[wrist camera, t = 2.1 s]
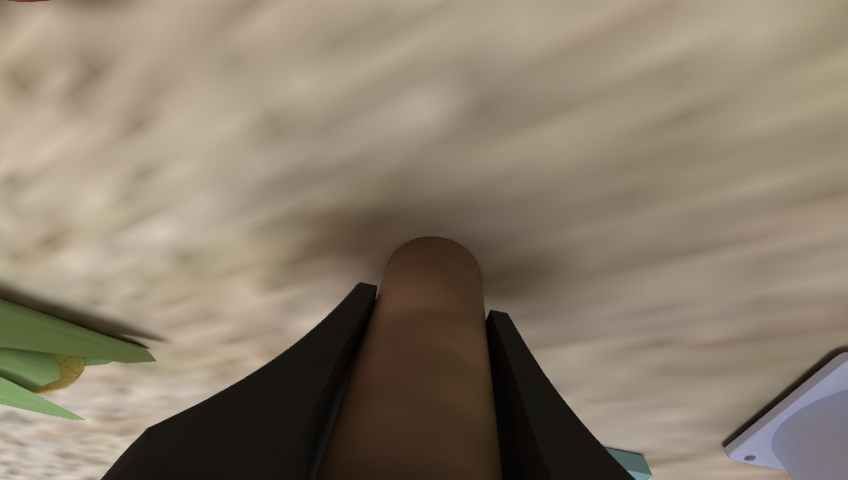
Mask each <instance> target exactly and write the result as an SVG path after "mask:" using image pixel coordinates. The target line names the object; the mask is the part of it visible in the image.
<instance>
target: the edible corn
mask: <svg viewBox="0 0 848 480" xmlns="http://www.w3.org/2000/svg"><path fill="white" fill-rule="evenodd" d="M142 348H147V347H143V346H140V345H137V344H134V343H131V342H128V341H124V340H121V339H118V338H115V337H112V336H109V335H105V334H102V333H99V332H96V331H93V330H90V329H86V328H83V327H80V326H77V325H75V324H72V323H69V322H66V321H64V320H61V319H58V318H56V317H53V316H50V315H47V314H45V313H42V312H39V311H36V310H33V309H30V308H27V307H24V306H21V305H18V304H15V303H12V302H9V301H6V300H3V299H0V404H2V405H7V406H12V407H16V408H21V409H26V410H30V411H35V412H39V413H44V414H49V415H53V416H58V417H62V418H67V419H72V420H85V419H83V418H81V417H79V416H77V415H76V414H74V413H72V412H70V411H68V410H66V409H64V408H62V407H60V406H58V405H56V404H54V403H52V402H50V401H48V400H46V399H44V398H42V397H40V396H38V395H36V394H44V393H49V392H52V391H56V390H59V389H63V388H66V387H68V386H69V385H71V384H72V383H74V382H75V381H76V380H77V379H78V378H79V376H80V375H81V374H82V372H83V371H84V366H88V365H101V364H108V363H110V362H113V361H116V362H123V363H138V362H153V361H156V360H155V359H154V358H153V356H152V355H151V354H150V353H149V352H148V351H147V350H145V349H142ZM149 349H150V348H149Z"/></svg>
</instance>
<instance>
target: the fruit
mask: <svg viewBox="0 0 848 480" xmlns="http://www.w3.org/2000/svg"><path fill="white" fill-rule="evenodd" d="M9 1H16V2H36V1H48V0H9Z"/></svg>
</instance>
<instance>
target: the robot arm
mask: <svg viewBox="0 0 848 480" xmlns="http://www.w3.org/2000/svg"><path fill="white" fill-rule="evenodd" d="M376 292H377V286H375V285H371V284H366V283H361V282H360V283H358V284H357V285H356V286H355V287H354V289H353V290H352V291H351V292H350V293H349V294H348V295H347V297H346V298H345V299H344V300H343V301H342V302H341V303H340V304H339V305H338V306H337V307H336V308H335V309H334V310H333V311H332V312H331V313H330V314H329V315H328V316H327V317H326V318H325V319H323V320H322V321H321V322H320V323H319V324H318V325H317V326H316V327H314V328H313V329H312V330H311V331H310V332H309V333H307V334H306V335H305V336H304V337H303V338H301V339H300V340H299V341H298V342H296V343H295V344H294V345H292V346H291V347H290V348H289V349H287V350H286V351H284V352H283V353H282V354H280V355H279V356H277V357H276V358H275V359H273V360H272V361H270V362H269V363H267V364H266V365H264V366H263V367H261V368H260V369H258V370H257V371H255V372H253V373H252V374H250V375H249V376H247V377H245V378H244V379H242V380H240V381H239V382H237V383H235V384H233V385H231V386H230V387H228V388H226V389H224V390H223V391H221V392H219V393H217V394H215V395H214V396H212V397H210V398H208V399H206V400H205V401H203V402H201V403H199V404H197V405H195V406H193V407H191V408H189V409H187V410H184V411H182V412H180V413H178V414H176V415H174V416H172V417H170V418H168V419H166V420H164V421H162V422H160V423H158V424H155V425H153V426H151V427H149V428H147V429H146V430H145V431H144V432H143V434H142V435H141V436H140V437H139V438H138V439H137V440H136V441H135V442H133V443H132V444H131V445H130V446H129V447H128V449H127V450H126V451H125V452H124V453H123V454H122V455H121V456H120V457H119V459H118V460H117V461H116V462H115V463H114V464H113V466H112V467H111V468H110V469H109V470H108V472H107V473H106V474H105V475H104V476H103V477H102V479H101V480H315V477H316V474H317V471H318V468H319V465H320V462H321V459H322V456H323V453H324V450H325V447H326V444H327V441H328V438H329V435H330V433H331V430H332V427H333V424H334V421H335V418H336V415H337V412H338V409H339V406H340V403H341V400H342V397H343V394H344V391H345V388H346V385H347V382H348V379H349V376H350V374H351V371H352V368H353V365H354V362H355V359H356V356H357V353H358V350H359V347H360V344H361V341H362V338H363V335H364V332H365V329H366V326H367V324H368V321H369V318H370V315H371V312H372V309H373V306H374V303H375V299H376ZM486 328H487V337H488V346H489V356H490V365H491V375H492V384H493V394H494V403H495V412H496V422H497V431H498V441H499V450H500V460H501V469H502V478H503V480H636V479H635V478H634V477H633V476H632V475H631V474H630V473H629V472H628V471H627V470H626V469H625V468H624V467H623V466H622V465H621V464H620V463H619V462H618V461H617V460H616V459H615V458H614V457H613V456H612V455H611V454H610V453H609V452H608V451H607V450H606V449H605V448H604V446H603V445H602V444H601V443H600V442H599V441H598V440H597V439H596V438H595V437H594V436H593V435H592V433H591V432H590V431H589V430H588V429H587V428H586V427H585V425H584V424H583V423H582V422H581V421H580V420H579V418H578V417H577V416H576V415H575V413H574V412H573V411H572V410H571V409H570V407H569V406H568V405H567V404H566V402H565V401H564V400H563V399H562V397H561V396H560V395H559V393H558V392H557V391H556V389H555V388H554V386H553V385H552V384H551V382H550V381H549V379H548V378H547V377H546V375H545V374H544V372H543V371H542V369H541V368H540V366H539V365H538V363H537V361H536V360H535V358H534V357H533V355H532V354H531V352H530V350H529V349H528V347H527V346H526V344H525V342H524V341H523V339H522V337H521V336H520V334H519V332H518V330H517V329H516V327H515V325H514V324H513V322H512V320H511V319H510V317H509V315H508V314H507V313H504V312H499V311H494V310H490V312H489V314H488V317H487V320H486ZM725 453H726V454H727V456H728V457H729V458H730V459H732V460H734V461H739V462H744V463H749V464H754V465H759V466H763V467H768V468H773V469H778V470H783V471H787V472H788V473H789V474H790V475H791V477H792V478H793V479H794V480H848V352H844V353H842V354H839V355H838V356H836V357H835V358H834V359H832V360H831V361H830V362H829V363H827V364H826V365H825V366H824V367H823V368H821V369H820V370H819V371H818V372H816V373H815V374H814V375H813V376H812V377H810V378H809V379H808V380H807V381H806V382H804V383H803V384H802V385H801V386H799V387H798V388H797V389H796V390H795V391H793V392H792V393H791V394H790V395H788V396H787V397H786V398H785V399H784V400H782V401H781V402H780V403H779V404H777V405H776V406H775V407H774V408H773V409H771V410H770V411H769V412H768V413H766V414H765V415H764V416H763V417H762V418H760V419H759V420H758V421H757V422H755V423H754V424H753V425H752V426H751V427H749V428H748V429H747V430H746V431H745V432H743V433H742V434H741V435H740V436H738V437H737V438H736V439H735V440H734V441H732V442H731V443H730V444H729V445H727V446H726V447H725Z"/></svg>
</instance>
